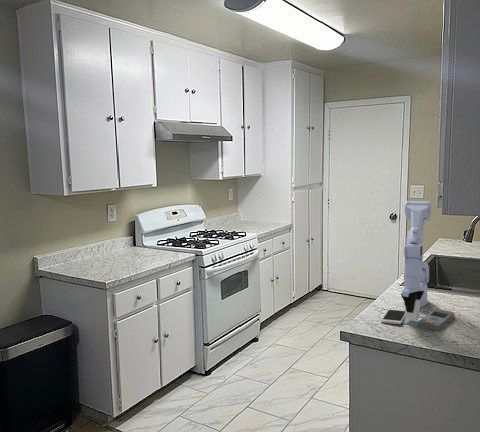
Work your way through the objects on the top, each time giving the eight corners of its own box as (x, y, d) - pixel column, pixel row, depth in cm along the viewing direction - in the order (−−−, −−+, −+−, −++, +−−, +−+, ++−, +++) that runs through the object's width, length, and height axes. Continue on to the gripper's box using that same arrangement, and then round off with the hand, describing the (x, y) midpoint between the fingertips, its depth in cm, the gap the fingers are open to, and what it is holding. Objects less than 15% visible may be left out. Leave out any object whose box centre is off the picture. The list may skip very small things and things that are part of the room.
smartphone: (407, 311, 179) (407, 309, 179) (400, 324, 165) (400, 322, 165) (389, 310, 182) (389, 307, 182) (381, 322, 169) (380, 320, 169)
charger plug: (408, 315, 171) (409, 297, 170) (419, 317, 169) (420, 299, 168) (404, 318, 169) (405, 300, 168) (415, 320, 166) (416, 302, 165)
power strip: (435, 313, 178) (435, 307, 177) (453, 317, 173) (454, 311, 173) (418, 326, 164) (418, 320, 164) (437, 331, 160) (438, 325, 159)
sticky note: (406, 318, 173) (406, 317, 173) (423, 321, 169) (423, 321, 169) (400, 322, 169) (400, 322, 169) (417, 326, 164) (417, 326, 164)
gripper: (416, 281, 159) (415, 318, 160) (431, 273, 169) (429, 307, 171) (397, 278, 163) (396, 314, 165) (412, 270, 174) (411, 303, 176)
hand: (412, 310), depth 168 cm, fingers closed on charger plug, 4 cm apart
